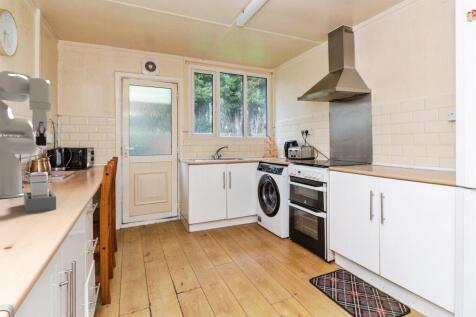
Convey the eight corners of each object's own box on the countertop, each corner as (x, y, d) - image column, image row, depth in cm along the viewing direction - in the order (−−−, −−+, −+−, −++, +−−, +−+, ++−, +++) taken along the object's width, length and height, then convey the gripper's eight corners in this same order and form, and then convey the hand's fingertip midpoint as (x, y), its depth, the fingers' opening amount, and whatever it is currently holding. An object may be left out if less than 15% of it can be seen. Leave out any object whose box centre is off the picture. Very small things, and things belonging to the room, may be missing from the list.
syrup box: (48, 206, 108) (47, 172, 107) (31, 208, 104) (29, 173, 103) (49, 203, 112) (48, 171, 112) (32, 205, 109) (31, 172, 108)
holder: (24, 204, 115) (23, 192, 115) (51, 201, 122) (50, 190, 122) (25, 213, 101) (25, 199, 101) (56, 209, 108) (56, 196, 108)
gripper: (28, 107, 116) (29, 144, 117) (30, 104, 103) (30, 146, 104) (49, 109, 121) (49, 144, 122) (52, 106, 108) (53, 146, 109)
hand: (40, 145), depth 113 cm, fingers open, 9 cm apart
